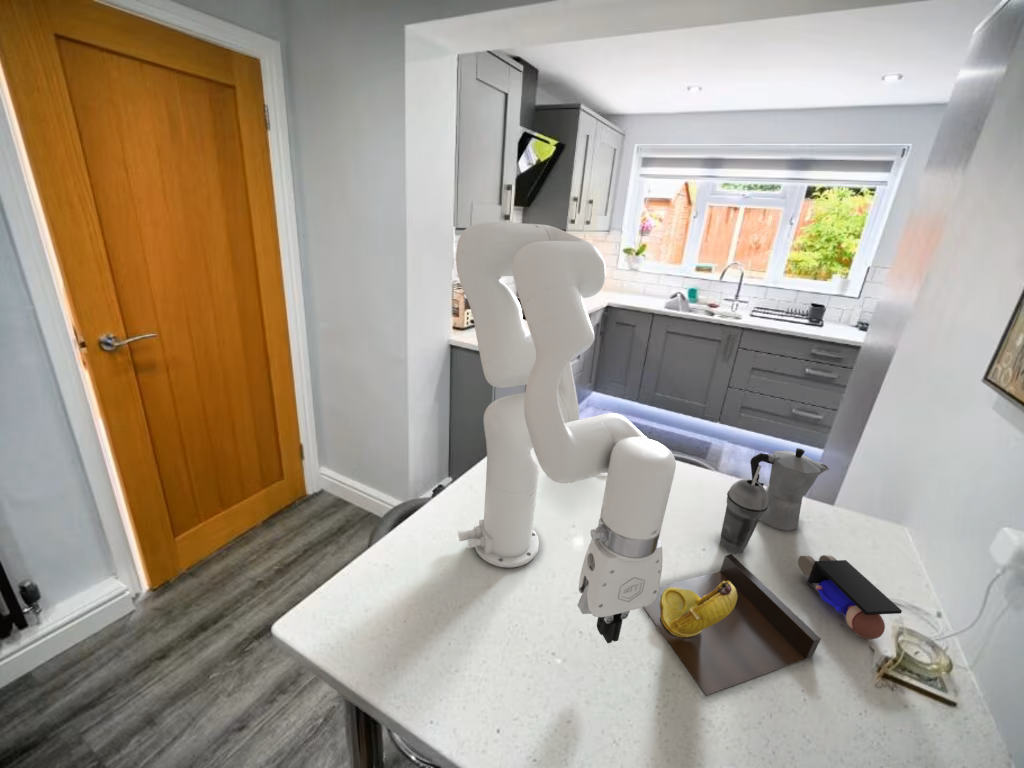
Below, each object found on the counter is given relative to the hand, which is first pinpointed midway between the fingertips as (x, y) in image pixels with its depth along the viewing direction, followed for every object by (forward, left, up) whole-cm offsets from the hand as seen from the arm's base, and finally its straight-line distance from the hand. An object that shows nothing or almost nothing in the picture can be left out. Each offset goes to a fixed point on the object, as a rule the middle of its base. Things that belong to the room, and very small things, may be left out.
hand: (607, 633), depth 63 cm
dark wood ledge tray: (+22, 0, -6) cm, 22 cm away
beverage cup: (+39, +14, -6) cm, 42 cm away
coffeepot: (+55, +20, -6) cm, 59 cm away
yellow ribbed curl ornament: (+16, 0, -6) cm, 17 cm away
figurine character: (+46, -3, -6) cm, 46 cm away
